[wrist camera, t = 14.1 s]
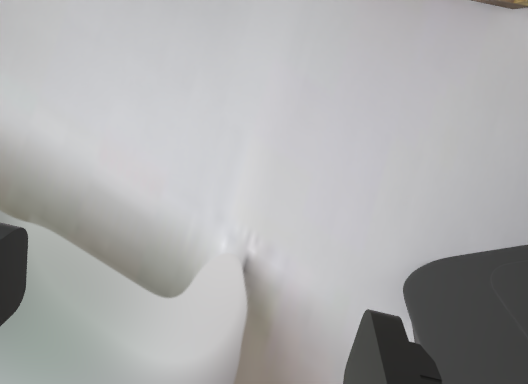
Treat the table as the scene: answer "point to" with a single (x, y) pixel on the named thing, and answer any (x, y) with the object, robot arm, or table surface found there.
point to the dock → (506, 3)
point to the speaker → (473, 315)
